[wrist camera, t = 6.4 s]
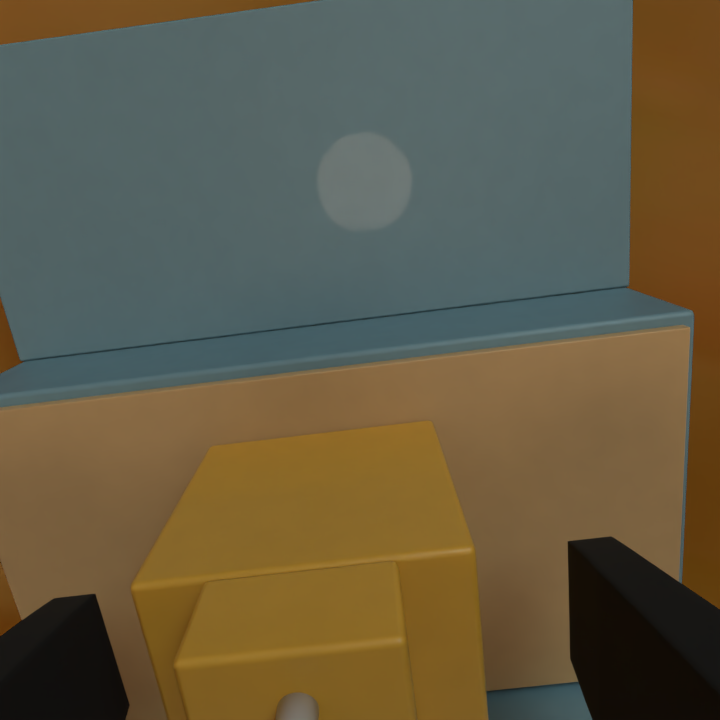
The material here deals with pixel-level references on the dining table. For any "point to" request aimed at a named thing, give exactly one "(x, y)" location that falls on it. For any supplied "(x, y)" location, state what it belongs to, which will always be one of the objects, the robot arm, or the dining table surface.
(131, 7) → the dining table surface
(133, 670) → the step rack
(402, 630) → the block with handle
